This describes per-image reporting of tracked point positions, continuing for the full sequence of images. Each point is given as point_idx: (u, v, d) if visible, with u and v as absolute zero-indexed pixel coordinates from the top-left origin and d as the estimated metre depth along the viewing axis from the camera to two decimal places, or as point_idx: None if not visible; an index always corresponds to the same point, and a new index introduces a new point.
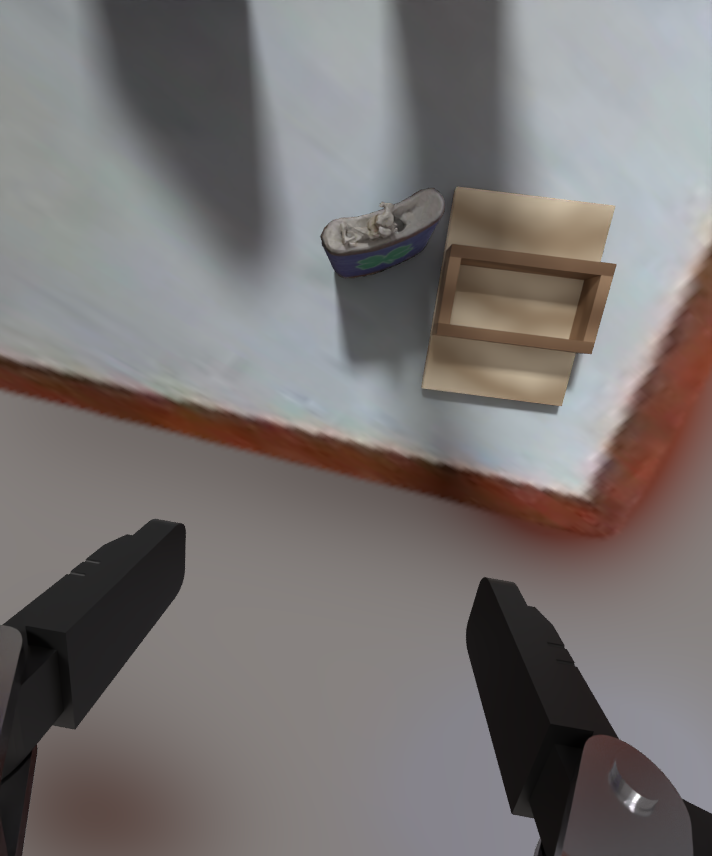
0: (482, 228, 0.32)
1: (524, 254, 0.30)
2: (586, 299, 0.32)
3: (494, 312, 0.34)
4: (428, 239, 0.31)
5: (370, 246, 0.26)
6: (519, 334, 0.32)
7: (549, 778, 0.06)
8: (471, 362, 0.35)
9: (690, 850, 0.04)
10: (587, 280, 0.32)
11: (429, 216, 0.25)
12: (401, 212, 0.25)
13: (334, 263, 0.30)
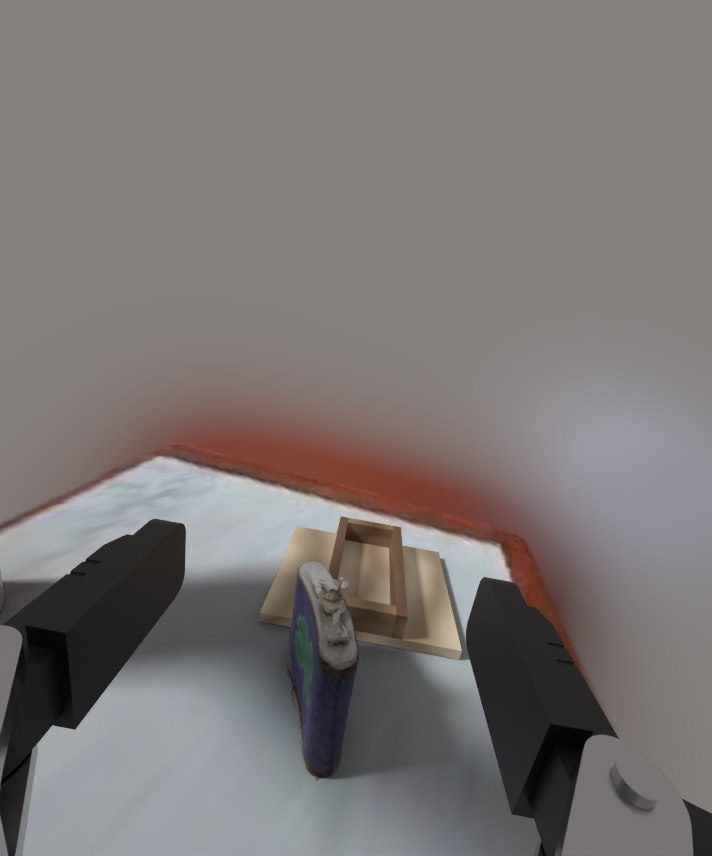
0: None
1: (333, 556, 0.36)
2: (361, 534, 0.43)
3: (373, 588, 0.36)
4: None
5: (349, 617, 0.23)
6: (395, 560, 0.37)
7: (549, 778, 0.06)
8: (422, 607, 0.35)
9: (690, 850, 0.04)
10: (346, 535, 0.43)
11: (322, 570, 0.26)
12: (315, 593, 0.24)
13: (346, 713, 0.21)
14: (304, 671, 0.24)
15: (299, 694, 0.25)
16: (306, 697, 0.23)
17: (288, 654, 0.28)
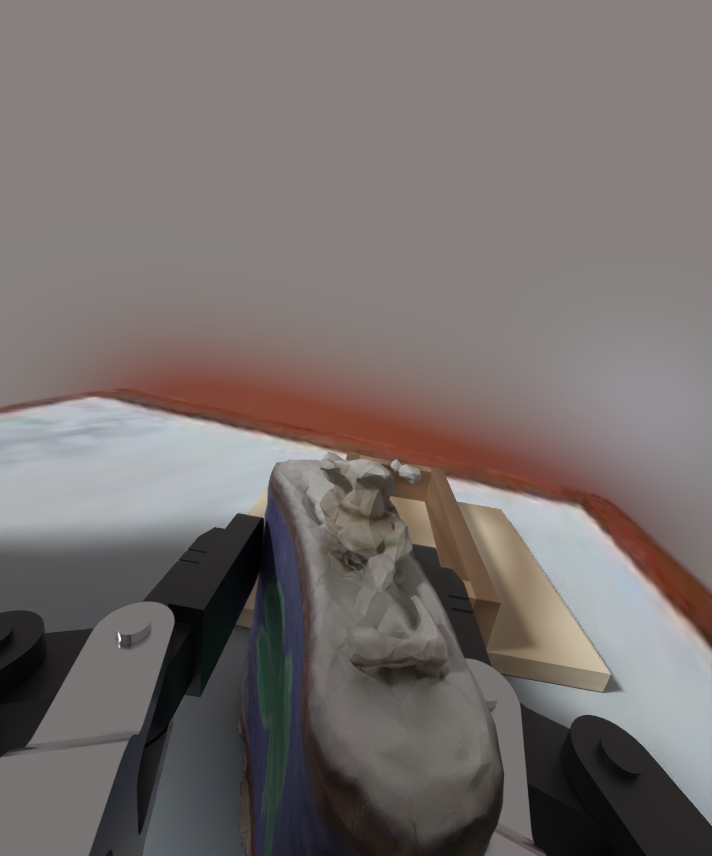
0: None
1: None
2: None
3: None
4: None
5: (425, 580, 0.07)
6: (446, 509, 0.21)
7: None
8: (503, 588, 0.19)
9: (509, 735, 0.05)
10: None
11: None
12: (313, 514, 0.09)
13: None
14: (270, 743, 0.08)
15: (256, 801, 0.09)
16: (266, 840, 0.07)
17: (244, 683, 0.12)
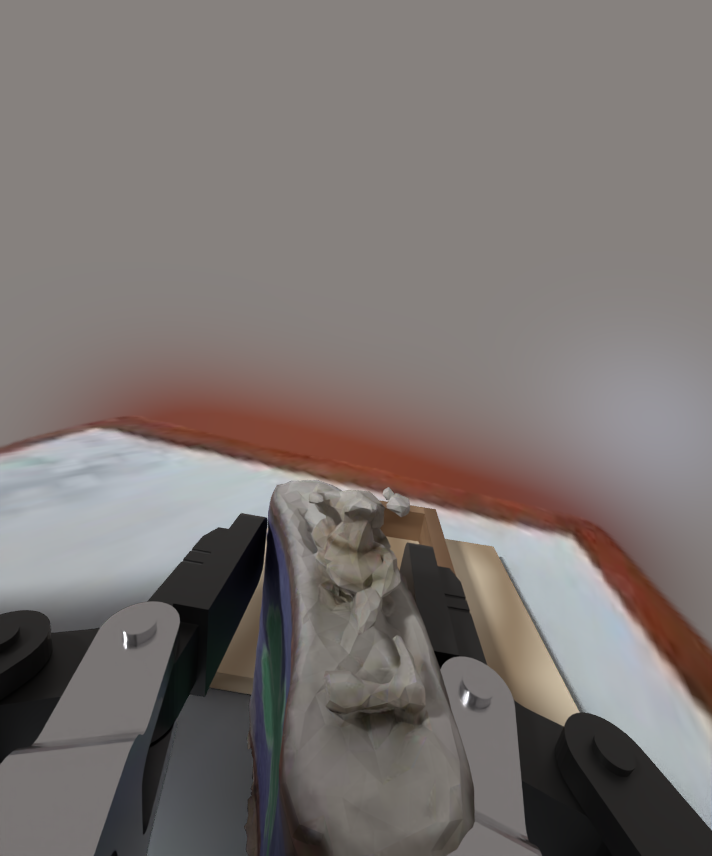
0: None
1: None
2: None
3: None
4: None
5: (415, 612, 0.07)
6: (437, 560, 0.22)
7: None
8: (492, 641, 0.20)
9: (502, 732, 0.05)
10: None
11: None
12: (310, 540, 0.09)
13: None
14: (271, 765, 0.09)
15: (262, 819, 0.09)
16: None
17: (252, 699, 0.12)
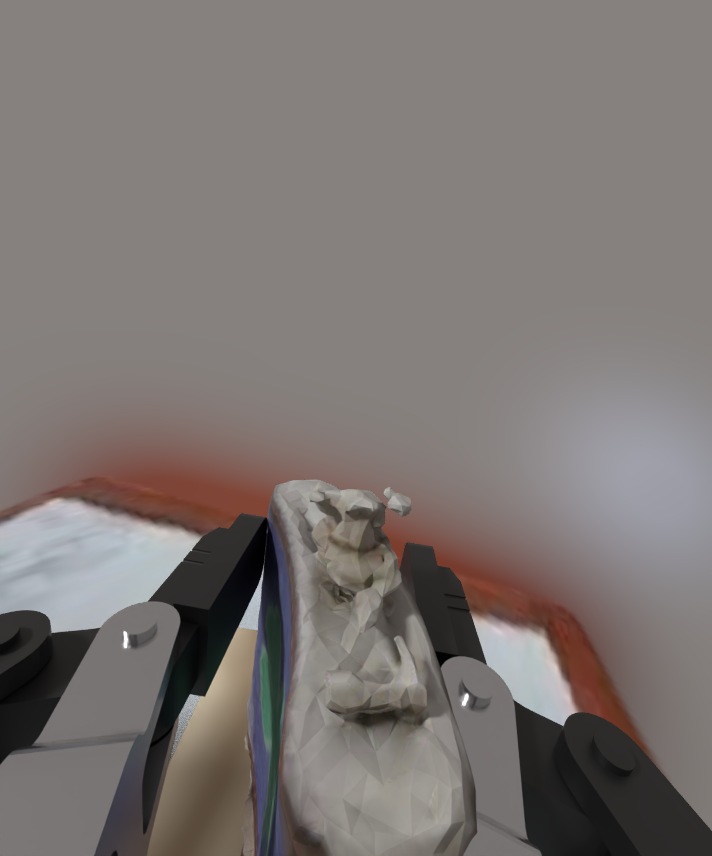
0: (207, 821, 0.17)
1: None
2: None
3: None
4: None
5: (416, 613, 0.06)
6: None
7: None
8: None
9: (502, 732, 0.05)
10: None
11: None
12: (310, 539, 0.09)
13: None
14: (269, 766, 0.08)
15: (259, 821, 0.09)
16: None
17: (250, 699, 0.12)
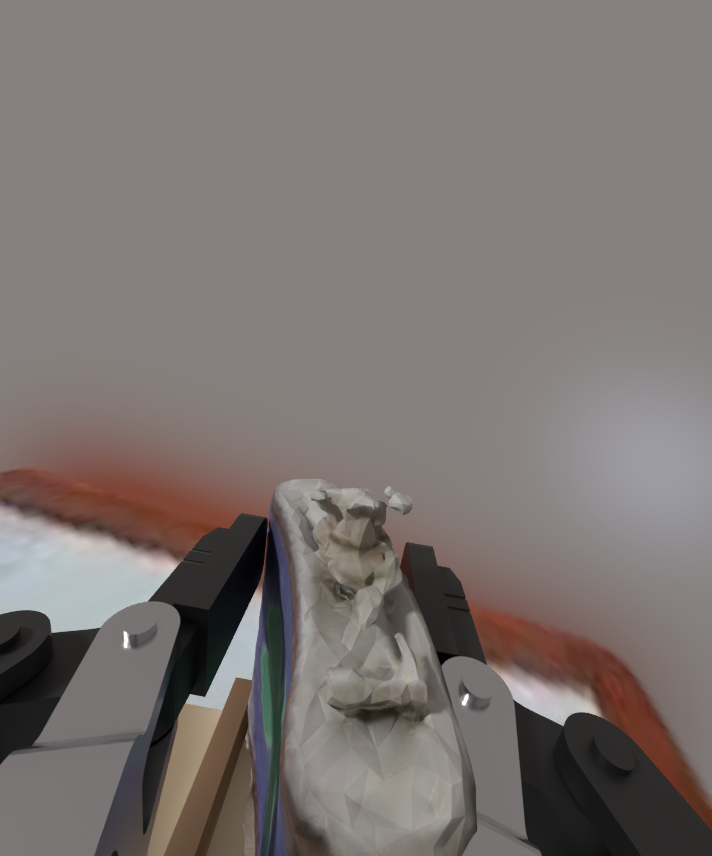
0: None
1: None
2: None
3: None
4: None
5: (416, 611, 0.07)
6: None
7: None
8: None
9: (502, 732, 0.05)
10: None
11: None
12: (311, 538, 0.09)
13: None
14: (270, 764, 0.08)
15: (260, 819, 0.09)
16: None
17: (251, 698, 0.12)
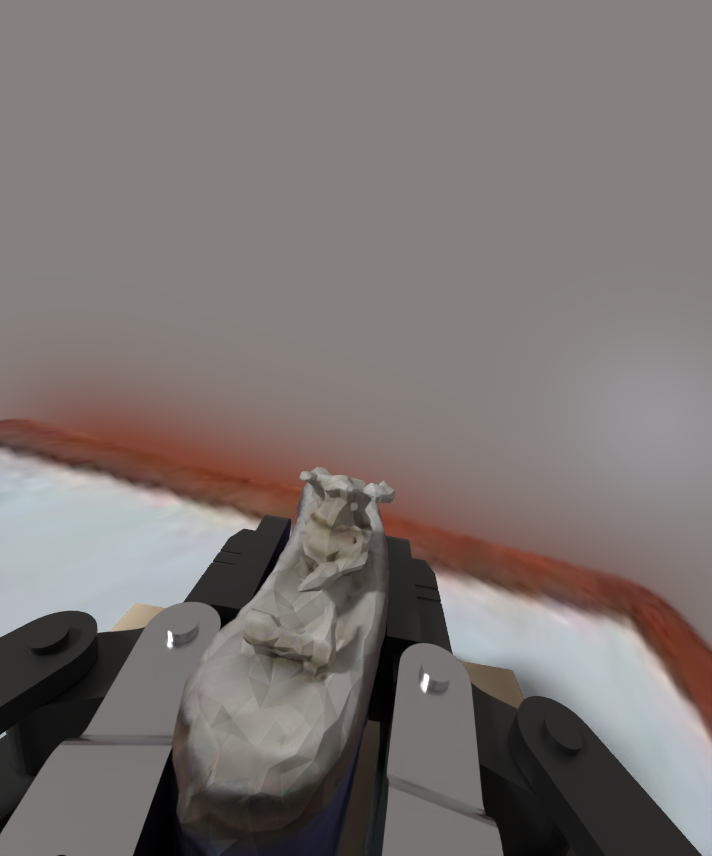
0: None
1: None
2: None
3: None
4: None
5: (379, 599, 0.07)
6: None
7: (387, 682, 0.07)
8: None
9: (456, 714, 0.05)
10: None
11: None
12: None
13: None
14: None
15: None
16: None
17: None
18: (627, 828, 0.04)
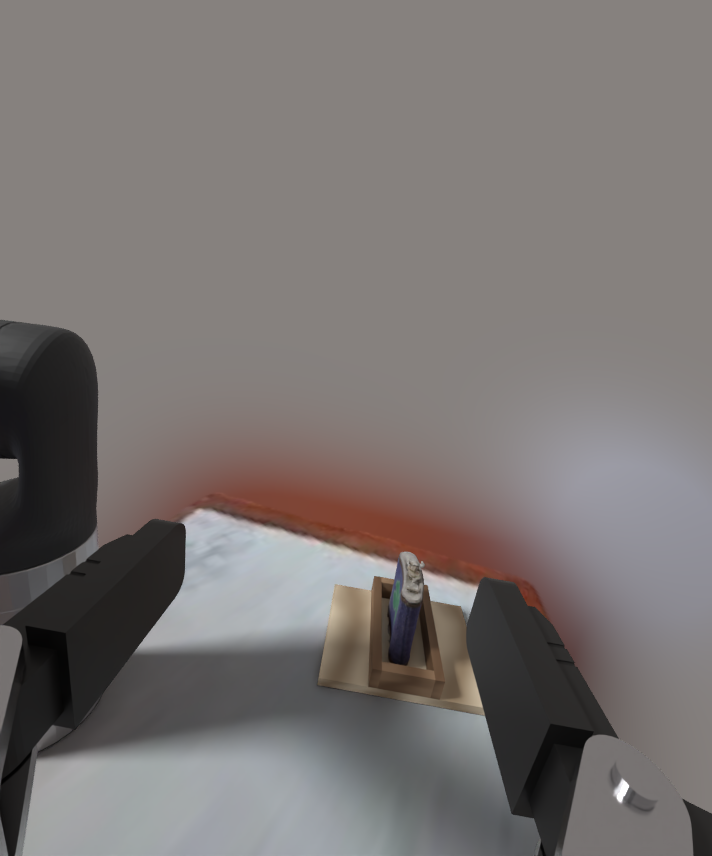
0: (349, 658, 0.40)
1: (374, 620, 0.42)
2: None
3: None
4: None
5: (422, 584, 0.40)
6: (427, 622, 0.43)
7: (549, 778, 0.06)
8: (452, 665, 0.41)
9: (690, 851, 0.04)
10: None
11: (414, 558, 0.44)
12: (407, 568, 0.43)
13: (412, 632, 0.38)
14: (395, 611, 0.43)
15: (391, 626, 0.44)
16: (394, 623, 0.41)
17: (389, 605, 0.46)
18: None
